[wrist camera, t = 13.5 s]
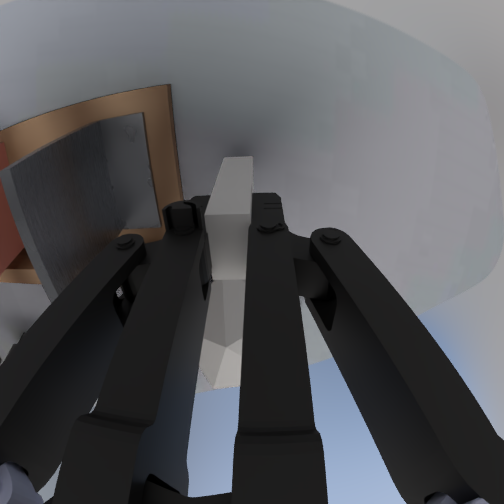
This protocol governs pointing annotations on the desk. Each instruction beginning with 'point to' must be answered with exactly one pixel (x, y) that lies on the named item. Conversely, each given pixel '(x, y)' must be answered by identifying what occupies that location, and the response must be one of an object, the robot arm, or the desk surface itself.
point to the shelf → (74, 116)
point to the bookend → (81, 196)
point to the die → (224, 334)
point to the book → (7, 223)
